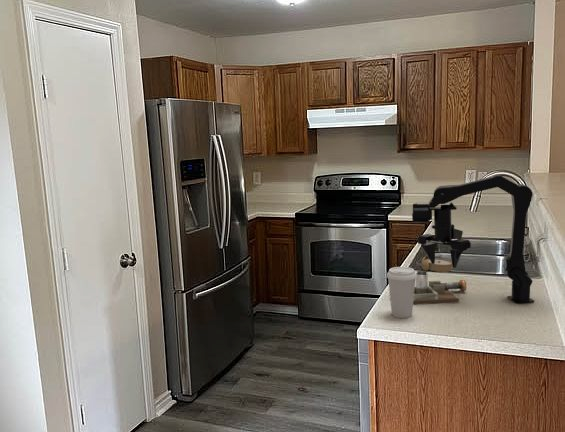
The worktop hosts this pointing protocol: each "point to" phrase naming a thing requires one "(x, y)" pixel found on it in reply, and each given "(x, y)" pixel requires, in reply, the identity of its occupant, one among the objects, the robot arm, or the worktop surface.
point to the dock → (435, 295)
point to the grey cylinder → (421, 282)
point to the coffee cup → (401, 291)
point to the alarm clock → (435, 264)
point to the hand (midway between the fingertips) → (443, 265)
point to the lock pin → (456, 285)
